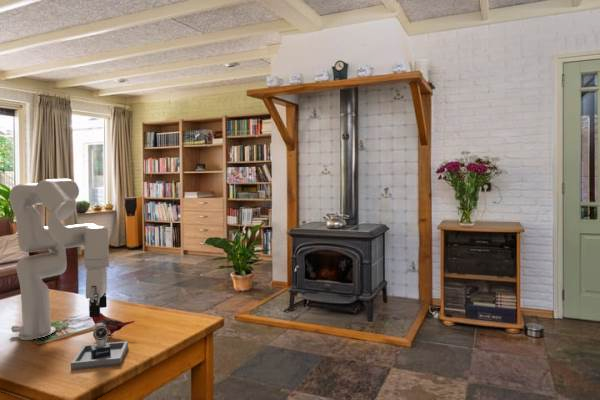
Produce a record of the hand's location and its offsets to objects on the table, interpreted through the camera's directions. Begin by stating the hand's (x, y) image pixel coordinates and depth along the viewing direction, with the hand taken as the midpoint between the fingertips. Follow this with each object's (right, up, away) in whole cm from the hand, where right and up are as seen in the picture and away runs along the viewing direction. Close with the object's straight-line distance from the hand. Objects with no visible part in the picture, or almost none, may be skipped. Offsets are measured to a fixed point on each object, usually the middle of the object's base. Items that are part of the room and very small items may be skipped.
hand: (98, 311), depth 148 cm
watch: (0, -15, +1) cm, 16 cm away
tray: (+1, -16, +1) cm, 16 cm away
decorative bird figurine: (-4, -15, +20) cm, 26 cm away
